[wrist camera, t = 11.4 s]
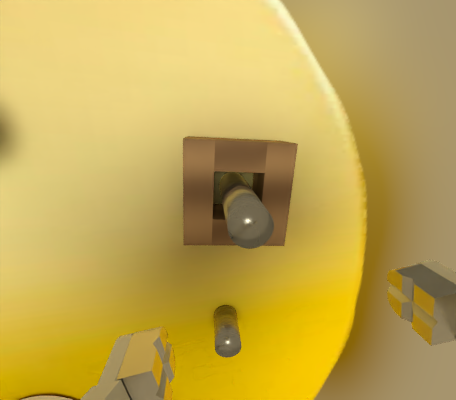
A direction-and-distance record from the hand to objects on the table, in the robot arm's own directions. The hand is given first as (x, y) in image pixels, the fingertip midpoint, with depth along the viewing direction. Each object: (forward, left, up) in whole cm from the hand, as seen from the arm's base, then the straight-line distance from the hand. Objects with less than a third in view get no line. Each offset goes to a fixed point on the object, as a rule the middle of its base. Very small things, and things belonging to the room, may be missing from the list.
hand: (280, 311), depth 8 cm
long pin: (0, 0, -19) cm, 19 cm away
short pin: (-18, 0, -19) cm, 26 cm away
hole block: (0, 0, -19) cm, 19 cm away
